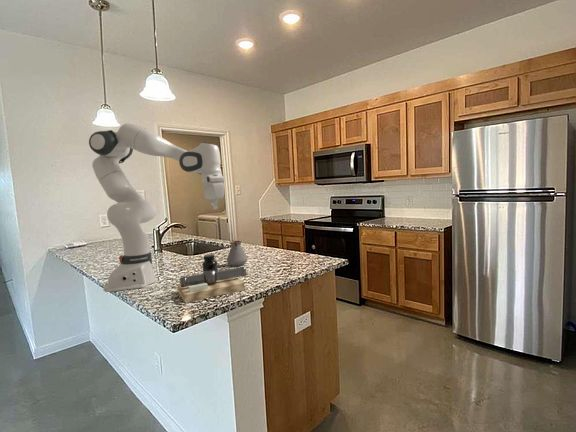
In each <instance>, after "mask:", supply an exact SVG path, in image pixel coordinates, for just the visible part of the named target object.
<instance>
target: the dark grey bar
mask: <svg viewBox="0 0 576 432" xmlns="http://www.w3.org/2000/svg"><path fill="white" fill-rule="evenodd" d="M246 276H247V266H238V267H235V268H228V269H223V270H218V271H215V270H206V271H204V272H203V271H202V273H198V274H194V275H187V276H186V275H185V276H181V277H180V278H179V282H180V284H181V287H186V286H191V285H197V284H202V283H207V284H208V285H212V284H215V283H216V281H219V280H224V279H230V278H235V277H236V278H241V277H246Z"/></svg>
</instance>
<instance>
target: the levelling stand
mask: <svg viewBox="0 0 576 432" xmlns="http://www.w3.org/2000/svg"><path fill="white" fill-rule="evenodd" d="M245 290H246V289H245V282H244V281H242V280H241V279H239V277H235V278H230V279H224V280H219V281H216V283H215V284H212V285H208V284H207V283H202V284H197V285H191V286H186V287H181V284H179V283H178V284H177V292H178V294H179V295H180V298H181V299H182V300H183V302H184V303H190V302H194V301H199V300H203V299H209V298H212V297H218V296H223V295H227V294H232V293H237V292H242V291H245Z"/></svg>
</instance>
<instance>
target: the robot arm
mask: <svg viewBox="0 0 576 432" xmlns="http://www.w3.org/2000/svg"><path fill="white" fill-rule="evenodd" d="M88 145H89V148H90V149H91V150H92V152H94V153H96V154H97V155H99V156H97V157H96V158H94V160H93V161H92V170H93V171H94V175H95V176H96V179H97V180H98V182H99V184H100V185H101V187H102V189H103V190H104V192H105V194H106V195H107V197H108V198H109V199H110V200H113V201H115V202H116V203H115V204H113V205H110V206H109V208H107V212H106V214H107V215H106V216H107V219H108V221H109V224H111V225H113V226H114V227H115V228H116V229H117V230H118V233H119V234H120V237H121V240H122V248H123V254H124V255H123V254H121V255H119V256H118V260H119V265H118V266H117V267H115V269H113V270H112V271H111V272H110V273H109V276H108V278H107V279H108V280H107V283H106V284H104V285H103V289H102V290H103V292H106V293H113V292H118V291H119V292H120V291H127V289H128V290H133V289H141V288H144V287H146V286H149V285H152V284H154V283H155V282H157V281H158V280H157V277H156V275H155V272H154V268H153V256H152V252H151V248H150V238H149V236H148V234H146V232H144V231H143V229H142V226H141V224H144V223H147V222H150V221H151V220H153V219H154V218H155V216H156V214H157V208H156V206H155V204H154V203H153V202H152V201H149V200H147V199H146V198H144V197H143V196H142V195H141V194H140V192H138V191H137V190H136V189H135V188H134V187H133V185H132V184H131V183H130V181H129V179H128V178H127V176H126V175H125V172H124V171H123V170H122V168H121V166H120V164H123V163H124V162H125V161H126V160H128V159H129V158H130V157H131V156H132V154H133V153H134V152H133V151H137V152H139V153H141V154H145V155H149V156H154V157H163V158H164V157H165V158H170V159H173V160H175V161H178V164H179V166H180V168H181V170H182V171H185V172H186V173H193V174H199V175H201V181H202V184H203V192H204V194H203V195H204V198H205V200H210V201H209V202H210V205H211V209H212V210H218V203H219V201H218V200H223V199H224V196H225V187H224V182H225V177H224V176H223V174H222V169H221V163H222V161H221V153H220V149H219V146H218V145H216V144H215V143H212V142H205V141H204V142H200V144H199V145H198V146H196V147H195V148H192V149H190V150H186V149H184V148H181V147H179V146H177V145H175V144H173V143H172V142H170V141H168V140H167V139H166V138H163V137H162V136H160V135H159V134H157V133H155V132H154V131H153V130H150V129H147V128H146V127H142V126H141V125H137V124H133V123H123V124H122V125H121V126H119V129H118V130H117V131H114V130H112V129H111V130H109V129H108V130H99V131H96V132H93V133H92V134H91V135H90V137H89V138H88Z"/></svg>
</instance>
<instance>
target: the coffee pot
mask: <svg viewBox="0 0 576 432" xmlns="http://www.w3.org/2000/svg"><path fill="white" fill-rule="evenodd" d="M242 242H243V241H242V240H233V241H229V244H230V249H229V253H228V255H227V258H226V263H227V264H229V265H230V266H232V267H242V266H243V265H245V264H246V263H247V261H248V259H249V258H248V256H247V255H246V252H245V250H244V248H243V247H242Z"/></svg>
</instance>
